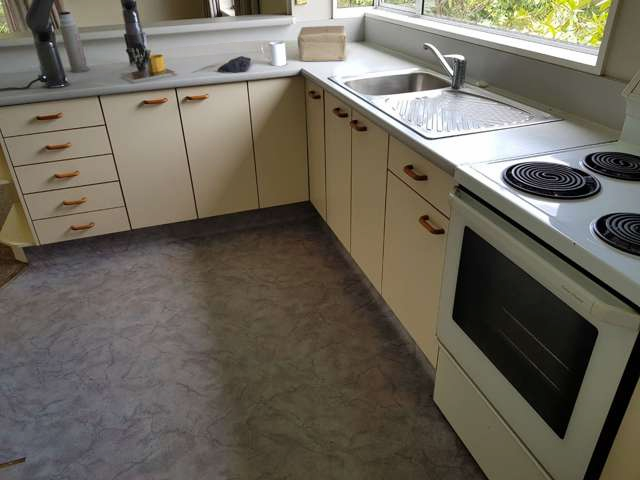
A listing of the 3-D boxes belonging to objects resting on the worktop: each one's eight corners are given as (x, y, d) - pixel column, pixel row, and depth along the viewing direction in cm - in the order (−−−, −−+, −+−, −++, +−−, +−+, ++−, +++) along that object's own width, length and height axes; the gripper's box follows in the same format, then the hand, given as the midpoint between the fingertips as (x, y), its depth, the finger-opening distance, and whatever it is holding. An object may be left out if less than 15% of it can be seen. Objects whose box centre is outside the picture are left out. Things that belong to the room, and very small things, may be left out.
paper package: (301, 51, 291) (300, 25, 284) (346, 51, 290) (346, 24, 283) (297, 62, 268) (296, 34, 261) (346, 61, 267) (346, 33, 260)
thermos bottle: (91, 68, 267) (76, 10, 252) (82, 72, 260) (66, 13, 246) (77, 68, 268) (62, 10, 254) (68, 72, 262) (52, 13, 247)
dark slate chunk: (256, 62, 270) (255, 53, 267) (245, 72, 251) (245, 62, 249) (228, 62, 272) (227, 53, 269) (216, 72, 253) (214, 62, 251)
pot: (155, 67, 260) (153, 54, 256) (168, 68, 257) (166, 55, 253) (132, 75, 246) (129, 61, 243) (146, 76, 243) (143, 62, 240)
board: (133, 83, 239) (132, 79, 238) (120, 77, 250) (119, 74, 249) (176, 75, 251) (175, 71, 250) (162, 69, 261) (161, 66, 261)
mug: (286, 62, 269) (285, 41, 263) (285, 65, 262) (283, 44, 257) (263, 62, 269) (262, 41, 264) (261, 66, 263) (259, 44, 257)
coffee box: (129, 66, 270) (123, 34, 261) (137, 63, 275) (130, 31, 267) (144, 67, 267) (138, 34, 259) (151, 64, 273) (145, 32, 264)
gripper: (117, 33, 236) (125, 71, 245) (140, 34, 231) (148, 73, 240) (128, 30, 242) (136, 67, 251) (151, 31, 237) (158, 69, 246)
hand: (142, 70), depth 246 cm, fingers closed on pot
